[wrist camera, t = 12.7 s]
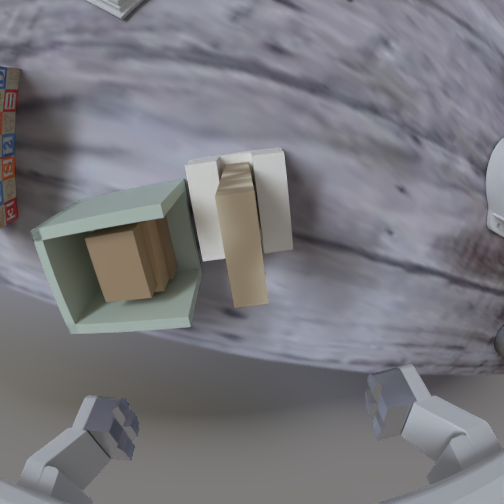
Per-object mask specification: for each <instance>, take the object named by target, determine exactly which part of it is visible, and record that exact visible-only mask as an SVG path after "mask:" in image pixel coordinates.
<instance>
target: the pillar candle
mask: <svg viewBox="0 0 504 504" xmlns="http://www.w3.org/2000/svg"><path fill="white" fill-rule="evenodd" d="M494 346H495V350H496V351H497V352H498V353H499V354H500V355H501V356H502V358H503V359H504V326H503V327H502V328H501V329H500V330H499V332H498V334H497V336H496V339H495V343H494Z"/></svg>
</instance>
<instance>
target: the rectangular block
mask: <svg viewBox="0 0 504 504" xmlns="http://www.w3.org/2000/svg"><path fill="white" fill-rule="evenodd" d="M215 200H216V206H217V212H218V218H219V224H220V230H221V236H222V242H223V247H224V253H225V259H226V264H227V270H228V275H229V281H230V286H231V292H232V297H233V302H234V308H238V307H246V306H254V305H262V304H268V295H267V287H266V279H265V271H264V263H263V255H262V247H261V239H260V231H259V223H258V215H257V208H256V200H255V192H254V187H253V182H252V178H251V173H250V168H249V164H248V161H247V162H240V163H233V164H226V165H225V168H224V171H223V173H222V176H221V179H220V182H219V185H218V188H217V191H216V194H215Z"/></svg>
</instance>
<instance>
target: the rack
mask: <svg viewBox="0 0 504 504" xmlns="http://www.w3.org/2000/svg"><path fill="white" fill-rule="evenodd" d="M31 234H32V237H33V240H34V244H35V247H36V250H37V253H38V256H39V258H40V261H41V264H42V267H43V270H44V272H45V275H46V278H47V280H48V283H49V285H50V288H51V290H52V293H53V295H54V298H55V300H56V302H57V305H58V307H59V309H60V312H61V314H62V316H63V318H64V320H65V323H66V325H67V327H68V329H69V331H70V333H71V334H84V333H109V332H129V331H145V330H159V329H172V328H184V327H191V324H192V320H193V315H194V310H195V305H196V301H197V296H198V291H199V287H200V282H201V278H202V269H201V264H200V259H199V254H198V250H197V245H196V240H195V235H194V230H193V225H192V219H191V214H190V209H189V204H188V198H187V193H186V187H185V182H184V179H179V180H174V181H168V182H163V183H157V184H152V185H147V186H142V187H137V188H132V189H127V190H122V191H117V192H113V193H108V194H104V195H99V196H95V197H91V198H87V199H82V200H79V201H77V202H75V203H74V204H72V205H70V206H69V207H67V208H65V209H64V210H62V211H60V212H59V213H57V214H56V215H54V216H52V217H51V218H49V219H48V220H46V221H44V222H43V223H41V224H40V225H38V226H37V227H35V228H34V229H32V230H31Z"/></svg>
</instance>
